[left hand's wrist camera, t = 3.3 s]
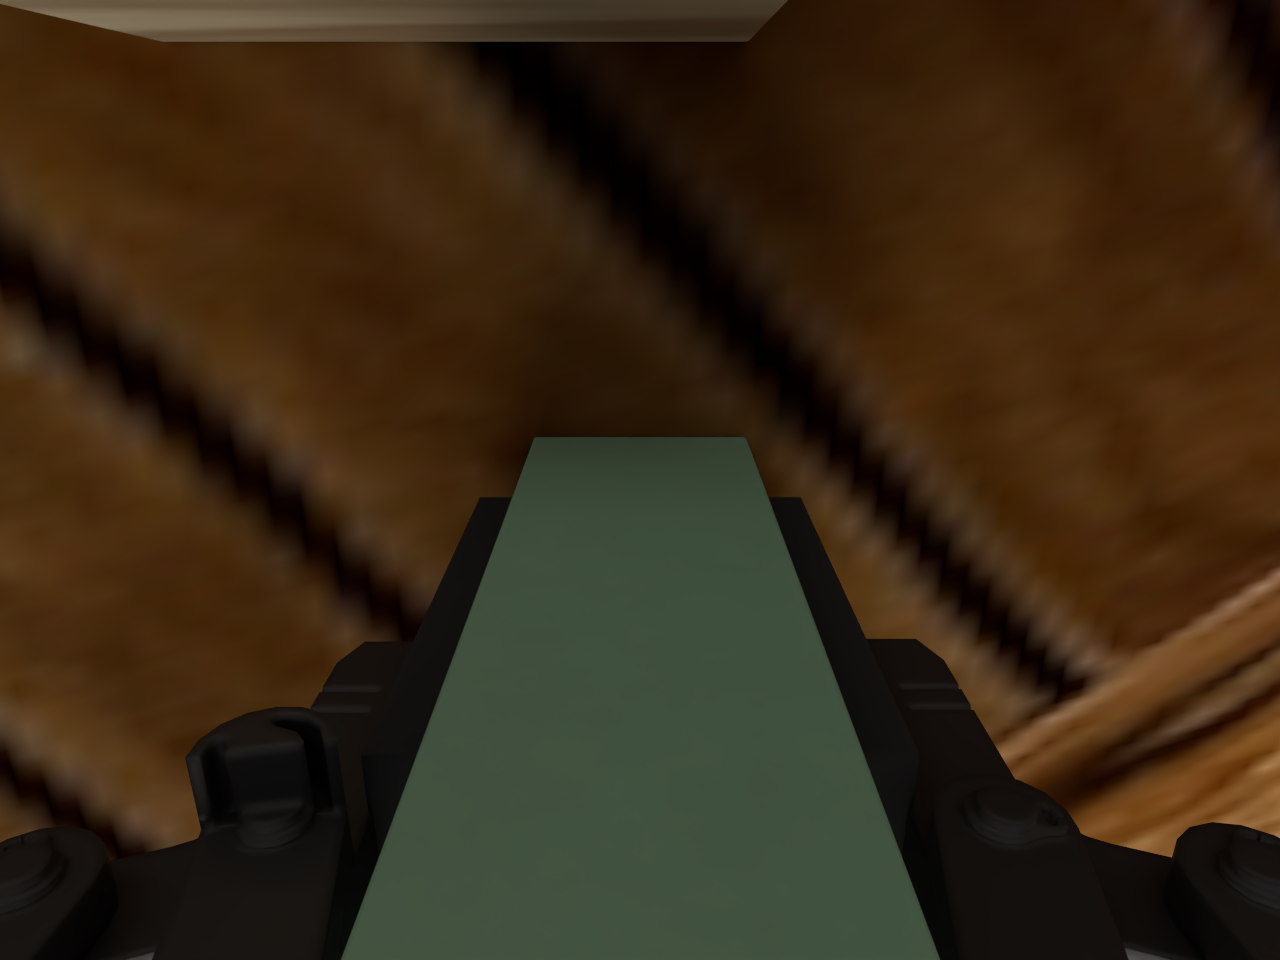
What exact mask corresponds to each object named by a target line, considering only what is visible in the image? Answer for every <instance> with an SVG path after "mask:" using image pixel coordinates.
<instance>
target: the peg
mask: <svg viewBox="0 0 1280 960" xmlns="http://www.w3.org/2000/svg"><path fill="white" fill-rule="evenodd" d="M341 960H940V958H939V955H938V953H937V950H936V947H935V944H934V942H933V939H932V936H931V934H930V931H929V928H928V926H927V923H926V920H925V918H924V915H923V912H922V910H921V907H920V904H919V901H918V899H917V896H916V893H915V891H914V888H913V885H912V883H911V880H910V877H909V875H908V872H907V869H906V867H905V864H904V861H903V858H902V856H901V853H900V850H899V848H898V845H897V842H896V840H895V837H894V834H893V832H892V829H891V826H890V824H889V821H888V818H887V815H886V813H885V810H884V807H883V805H882V802H881V799H880V797H879V794H878V791H877V789H876V786H875V783H874V781H873V778H872V775H871V772H870V770H869V767H868V764H867V762H866V759H865V756H864V754H863V751H862V748H861V746H860V743H859V740H858V738H857V735H856V732H855V729H854V727H853V724H852V721H851V719H850V716H849V713H848V711H847V708H846V705H845V703H844V700H843V697H842V694H841V692H840V689H839V686H838V684H837V681H836V678H835V676H834V673H833V670H832V668H831V665H830V662H829V660H828V657H827V654H826V651H825V649H824V646H823V643H822V641H821V638H820V635H819V633H818V630H817V627H816V625H815V622H814V619H813V617H812V614H811V611H810V608H809V606H808V603H807V600H806V598H805V595H804V592H803V590H802V587H801V584H800V582H799V579H798V576H797V574H796V571H795V568H794V565H793V563H792V560H791V557H790V555H789V552H788V549H787V547H786V544H785V541H784V539H783V536H782V533H781V531H780V528H779V525H778V522H777V520H776V517H775V514H774V512H773V509H772V506H771V504H770V501H769V498H768V496H767V493H766V490H765V488H764V485H763V482H762V479H761V477H760V474H759V471H758V469H757V466H756V463H755V461H754V458H753V455H752V453H751V450H750V447H749V445H748V442H747V439H746V438H745V437H536V438H534V440H533V443H532V446H531V448H530V451H529V454H528V456H527V459H526V462H525V464H524V467H523V470H522V473H521V475H520V478H519V481H518V483H517V486H516V489H515V491H514V494H513V497H512V500H511V502H510V505H509V508H508V510H507V513H506V516H505V518H504V521H503V524H502V527H501V529H500V532H499V535H498V537H497V540H496V543H495V545H494V548H493V551H492V554H491V556H490V559H489V562H488V564H487V567H486V570H485V572H484V575H483V578H482V580H481V583H480V586H479V589H478V591H477V594H476V597H475V599H474V602H473V605H472V607H471V610H470V613H469V616H468V618H467V621H466V624H465V626H464V629H463V632H462V634H461V637H460V640H459V643H458V645H457V648H456V651H455V653H454V656H453V659H452V661H451V664H450V667H449V670H448V672H447V675H446V678H445V680H444V683H443V686H442V688H441V691H440V694H439V697H438V699H437V702H436V705H435V707H434V710H433V713H432V715H431V718H430V721H429V724H428V726H427V729H426V732H425V734H424V737H423V740H422V742H421V745H420V748H419V751H418V753H417V756H416V759H415V761H414V764H413V767H412V769H411V772H410V775H409V778H408V780H407V783H406V786H405V788H404V791H403V794H402V796H401V799H400V802H399V804H398V807H397V810H396V813H395V815H394V818H393V821H392V823H391V826H390V829H389V831H388V834H387V837H386V840H385V842H384V845H383V848H382V850H381V853H380V856H379V858H378V861H377V864H376V867H375V869H374V872H373V875H372V877H371V880H370V883H369V885H368V888H367V891H366V894H365V896H364V899H363V902H362V904H361V907H360V910H359V912H358V915H357V918H356V921H355V923H354V926H353V929H352V931H351V934H350V937H349V939H348V942H347V945H346V948H345V950H344V953H343V956H342V958H341Z"/></svg>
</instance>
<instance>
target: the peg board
mask: <svg viewBox="0 0 1280 960" xmlns="http://www.w3.org/2000/svg"><path fill="white" fill-rule="evenodd" d="M787 1H788V0H0V4H3V5H8V6H12V7H16V8H20V9H25V10H29V11H33V12H38V13H42V14H46V15H50V16H55V17H59V18H63V19H68V20H72V21H76V22H81V23H85V24H89V25H93V26H98V27H102V28H106V29H111V30H115V31H119V32H123V33H128V34H132V35H136V36H141V37H145V38H149V39H153V40H158V41H162V42H747V41H749V40H750V39H751V38H752V37H753V36H754V35H755V34H756V33H757V32H758V31H759V30H760V29H761V28H762V26H763V25H764V24H765V23H766V22H767V21H768V20H769V19H770V18H771V17H772V16H773V15H774V14H775V13H776V12H777V11H778V10H779V9H780V8H781V7H782V6H783V5H784V4H785V3H786V2H787Z"/></svg>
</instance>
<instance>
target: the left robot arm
mask: <svg viewBox="0 0 1280 960" xmlns="http://www.w3.org/2000/svg"><path fill="white" fill-rule="evenodd" d="M768 498H769V501H770V504H771V506H772V509H773V512H774V514H775V517H776V520H777V522H778V525H779V528H780V531H781V533H782V536H783V539H784V541H785V544H786V547H787V549H788V552H789V555H790V557H791V560H792V563H793V565H794V568H795V571H796V574H797V576H798V579H799V582H800V584H801V587H802V590H803V592H804V595H805V598H806V600H807V603H808V606H809V608H810V611H811V614H812V617H813V619H814V622H815V625H816V627H817V630H818V633H819V635H820V638H821V641H822V643H823V646H824V649H825V651H826V654H827V657H828V660H829V662H830V665H831V668H832V670H833V673H834V676H835V678H836V681H837V684H838V686H839V689H840V692H841V694H842V697H843V700H844V703H845V705H846V708H847V711H848V713H849V716H850V719H851V721H852V724H853V727H854V729H855V732H856V735H857V738H858V740H859V743H860V746H861V748H862V751H863V754H864V756H865V759H866V762H867V764H868V767H869V770H870V772H871V775H872V778H873V781H874V783H875V786H876V789H877V791H878V794H879V797H880V799H881V802H882V805H883V807H884V810H885V813H886V815H887V818H888V821H889V824H890V826H891V829H892V832H893V834H894V837H895V840H896V842H897V845H898V848H899V850H900V853H901V856H902V858H903V861H904V864H905V867H906V869H907V872H908V875H909V877H910V880H911V883H912V885H913V888H914V891H915V893H916V896H917V899H918V901H919V904H920V907H921V910H922V912H923V915H924V918H925V920H926V923H927V926H928V928H929V931H930V934H931V936H932V939H933V942H934V944H935V947H936V950H937V953H938V955H939V958H940V960H1280V838H1278V837H1276V836H1274V835H1271V834H1268V833H1265V832H1262V831H1258V830H1255V829H1252V828H1249V827H1246V826H1242V825H1234V824H1224V823H1214V822H1211V823H1207V824H1202V825H1197V826H1193V827H1189V828H1188V829H1187V830H1186V831H1185V832H1184V833H1183V834H1182V835H1181V836H1180V837H1179V838H1178V839H1177V841H1176V845H1175V849H1174V852H1173V856H1172V858H1171V857H1167V856H1162V855H1158V854H1154V853H1149V852H1145V851H1141V850H1136V849H1132V848H1127V847H1123V846H1119V845H1114V844H1110V843H1107V842H1104V841H1100V840H1097V839H1094V838H1090V837H1087V836H1085V835H1083V834H1081V833H1080V831H1079V828H1078V827H1077V825H1076V824H1075V822H1074V821H1073V819H1072V818H1071V816H1070V815H1069V813H1068V812H1067V810H1066V809H1065V808H1064V807H1062V806H1061V805H1060V804H1059V803H1057V802H1056V801H1055V800H1054V799H1052V798H1051V797H1050V796H1049V795H1047V794H1046V793H1045V792H1043V791H1041V790H1038V789H1036V788H1034V787H1032V786H1030V785H1028V784H1026V783H1024V782H1022V781H1020V780H1016V779H1014V777H1013V775H1012V773H1011V772H1010V770H1009V768H1008V767H1007V765H1006V763H1005V762H1004V760H1003V758H1002V757H1001V755H1000V753H999V752H998V750H997V748H996V747H995V745H994V743H993V742H992V740H991V738H990V737H989V735H988V733H987V732H986V730H985V728H984V727H983V725H982V723H981V722H980V720H979V718H978V717H977V715H976V713H975V712H974V710H971V707H970V706H971V705H970V703H969V702H968V700H967V698H966V696H965V695H964V693H963V691H962V690H961V689H959V688H958V683H957V681H956V680H955V678H954V676H953V675H952V673H951V671H950V670H949V668H948V666H947V665H946V663H945V661H944V660H943V659H942V658H940V657H939V656H938V655H936V654H935V653H934V652H932V651H931V650H930V649H928V648H927V647H926V646H924V645H923V644H922V643H920V642H919V641H918V640H916V639H866V638H865V635H864V633H863V631H862V629H861V627H860V625H859V623H858V620H857V618H856V616H855V614H854V612H853V610H852V607H851V605H850V603H849V601H848V599H847V597H846V595H845V592H844V590H843V588H842V586H841V584H840V582H839V579H838V577H837V575H836V573H835V571H834V569H833V566H832V564H831V562H830V560H829V558H828V556H827V554H826V551H825V549H824V547H823V545H822V543H821V541H820V538H819V536H818V534H817V532H816V530H815V528H814V525H813V523H812V521H811V519H810V517H809V515H808V513H807V510H806V508H805V506H804V504H803V502H802V500H801V497H768ZM511 500H512V497H480V499H479V501H478V503H477V505H476V507H475V509H474V512H473V514H472V516H471V518H470V520H469V522H468V525H467V527H466V529H465V531H464V533H463V535H462V537H461V540H460V542H459V544H458V546H457V548H456V550H455V553H454V555H453V557H452V559H451V561H450V563H449V566H448V568H447V570H446V572H445V574H444V576H443V578H442V581H441V583H440V585H439V587H438V589H437V591H436V594H435V596H434V598H433V600H432V602H431V604H430V607H429V609H428V611H427V613H426V615H425V617H424V619H423V622H422V624H421V626H420V628H419V630H418V632H417V635H416V637H415V639H414V641H413V642H364V643H363V644H361V645H360V646H359V647H357V648H356V649H355V650H354V651H352V652H351V653H350V654H348V655H347V656H346V657H344V658H343V659H342V660H340V661H339V662H338V663H337V664H336V666H335V667H334V669H333V671H332V672H331V674H330V676H329V678H328V679H327V681H326V683H325V684H324V686H323V691H322V692H320V693H319V694H318V696H317V698H316V699H315V701H314V703H313V705H312V706H311V710H310V709H306V708H303V707H274V708H269V709H265V710H260V711H255V712H250V713H247V714H244V715H242V716H240V717H237V718H235V719H232V720H230V721H228V722H225V723H223V724H221V725H219V726H218V727H216V728H215V729H214V730H212V731H211V732H209V733H208V734H207V735H205V736H204V737H202V738H201V739H200V740H198V742H197V743H196V744H195V746H194V747H193V748H192V750H191V751H190V752H189V754H188V755H187V756H186V758H185V759H186V763H187V768H188V772H189V777H190V781H191V786H192V790H193V795H194V799H195V803H196V808H197V812H198V817H199V821H200V826H201V832H200V835H199V837H198V838H197V839H195V840H192V841H189V842H186V843H182V844H179V845H176V846H173V847H169V848H164V849H160V850H156V851H151V852H147V853H143V854H138V855H134V856H130V857H125V858H121V859H117V860H112V861H109V857H108V853H107V850H106V846H105V843H104V842H103V841H102V840H101V839H100V838H99V837H98V836H97V835H96V834H95V833H94V832H93V831H91V830H86V829H82V828H77V827H72V826H64V827H54V828H44V829H38V830H35V831H32V832H29V833H26V834H22V835H19V836H16V837H13V838H10V839H7V840H5V841H3V842H1V843H0V960H341V958H342V956H343V953H344V950H345V948H346V945H347V942H348V939H349V937H350V934H351V931H352V929H353V926H354V923H355V921H356V918H357V915H358V912H359V910H360V907H361V904H362V902H363V899H364V896H365V894H366V891H367V888H368V885H369V883H370V880H371V877H372V875H373V872H374V869H375V867H376V864H377V861H378V858H379V856H380V853H381V850H382V848H383V845H384V842H385V840H386V837H387V834H388V831H389V829H390V826H391V823H392V821H393V818H394V815H395V813H396V810H397V807H398V804H399V802H400V799H401V796H402V794H403V791H404V788H405V786H406V783H407V780H408V778H409V775H410V772H411V769H412V767H413V764H414V761H415V759H416V756H417V753H418V751H419V748H420V745H421V742H422V740H423V737H424V734H425V732H426V729H427V726H428V724H429V721H430V718H431V715H432V713H433V710H434V707H435V705H436V702H437V699H438V697H439V694H440V691H441V688H442V686H443V683H444V680H445V678H446V675H447V672H448V670H449V667H450V664H451V661H452V659H453V656H454V653H455V651H456V648H457V645H458V643H459V640H460V637H461V634H462V632H463V629H464V626H465V624H466V621H467V618H468V616H469V613H470V610H471V607H472V605H473V602H474V599H475V597H476V594H477V591H478V589H479V586H480V583H481V580H482V578H483V575H484V572H485V570H486V567H487V564H488V562H489V559H490V556H491V554H492V551H493V548H494V545H495V543H496V540H497V537H498V535H499V532H500V529H501V527H502V524H503V521H504V518H505V516H506V513H507V510H508V508H509V505H510V502H511Z"/></svg>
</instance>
